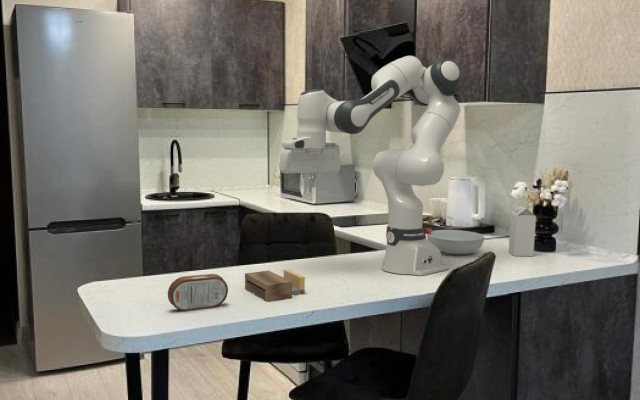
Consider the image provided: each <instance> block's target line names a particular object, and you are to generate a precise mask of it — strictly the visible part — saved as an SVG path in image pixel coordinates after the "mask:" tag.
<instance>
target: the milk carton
mask: <svg viewBox="0 0 640 400" xmlns="http://www.w3.org/2000/svg"><path fill="white" fill-rule="evenodd" d="M536 221H537V216H536V215H535V214H534V213H533V212H532V211H531V210H529V208H528V204H525V203H522V202H520V205H519V206H517V207H515V208H514V210H513V211H512V212H511V213H510V222H509V223H510V224H509V239H508V253H509V254H511V255H512V256H514V257H534V253H535V237H536Z"/></svg>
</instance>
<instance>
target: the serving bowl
mask: <svg viewBox="0 0 640 400" xmlns="http://www.w3.org/2000/svg"><path fill="white" fill-rule="evenodd" d="M432 231H433V232H432V233H431V235H429V234H426V239H428V240H429V241H430V242H431V243H432V244H433V245H434V246H436V247H437V248H438V249H439V250H440V252H441V253H444V254H446V255H452V256H453V255H454V256H464V255H468V254H473V253H474V252H477V251H478V250H480V248H481V247H482V245H483V243H484V240H485V236H484V235H483V234H481V233H478V232H475V231H468V230H458V229H440V230H437V229H436V230H432Z"/></svg>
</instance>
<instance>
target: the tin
mask: <svg viewBox="0 0 640 400" xmlns="http://www.w3.org/2000/svg"><path fill="white" fill-rule="evenodd" d="M228 292H229V286H228V283H227V282H226V281H225V280H224V278H223V277H221V276H220V275H218V274H216V273H208V274H207V273H206V274H198V275H197V274H196V275H195V274H194V275H185V276H180V277H178V278H175V280H173V281H172V283H171V284H170V285H169V287H168V290H167V298H168V302H169V303H170V304H171V305H172V307H174V308H175V309H177V310H179V311H184V312H185V311H186V312H187V311H195V310H203V309H204V310H205V309H210V308H216V307H219V306H220V305H221V304H224V302H225V301H226V300H227V297H228V294H229V293H228Z"/></svg>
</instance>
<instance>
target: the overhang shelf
mask: <svg viewBox="0 0 640 400" xmlns="http://www.w3.org/2000/svg"><path fill="white" fill-rule="evenodd" d="M244 290H246V291H248V292H249V291H250V292H249V293H251V292H252V293H251V294H253V293H254V294H255V296H256V295H257V296H256V297H258V298H260V299H261V298H262V299H261V300H263V299H264V300H263V301H265V300H266V301H269V302H273V301H272V300H276V301H280V300H279V299H282V300H287V299H286V298H289V299H293V296H292V281H290V280H288V279H285V278H284V276H281V275H279V274H277V273H275V272H273V271H271V270H263V271H255V272H245V273H244ZM254 294H253V295H254ZM266 301H265V302H266Z"/></svg>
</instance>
